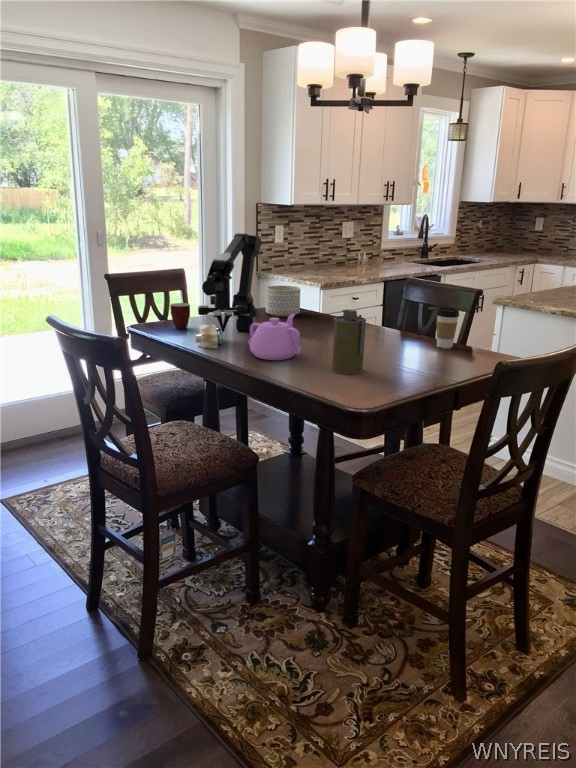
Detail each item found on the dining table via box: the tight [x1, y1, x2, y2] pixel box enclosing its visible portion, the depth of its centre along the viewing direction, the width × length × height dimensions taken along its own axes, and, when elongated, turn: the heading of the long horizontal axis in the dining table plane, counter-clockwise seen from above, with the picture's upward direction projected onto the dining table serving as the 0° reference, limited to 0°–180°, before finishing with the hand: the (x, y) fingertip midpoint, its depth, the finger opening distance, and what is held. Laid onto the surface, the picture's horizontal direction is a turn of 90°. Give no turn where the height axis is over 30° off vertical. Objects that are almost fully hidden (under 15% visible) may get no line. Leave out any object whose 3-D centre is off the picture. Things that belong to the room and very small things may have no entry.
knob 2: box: [216, 327, 222, 333], centre depth 235 cm, size 8×4×4 cm, turn 100°
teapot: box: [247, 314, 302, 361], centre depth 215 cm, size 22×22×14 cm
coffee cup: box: [436, 306, 460, 349], centre depth 232 cm, size 8×8×15 cm
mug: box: [169, 302, 191, 330], centre depth 253 cm, size 10×8×10 cm
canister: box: [331, 308, 367, 376], centre depth 197 cm, size 11×10×20 cm
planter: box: [265, 285, 301, 318], centre depth 288 cm, size 16×16×13 cm
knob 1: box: [194, 332, 223, 345], centre depth 228 cm, size 10×4×4 cm, turn 100°
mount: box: [198, 324, 219, 349], centre depth 231 cm, size 6×17×5 cm, turn 10°
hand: (222, 331), depth 236 cm, fingers closed
